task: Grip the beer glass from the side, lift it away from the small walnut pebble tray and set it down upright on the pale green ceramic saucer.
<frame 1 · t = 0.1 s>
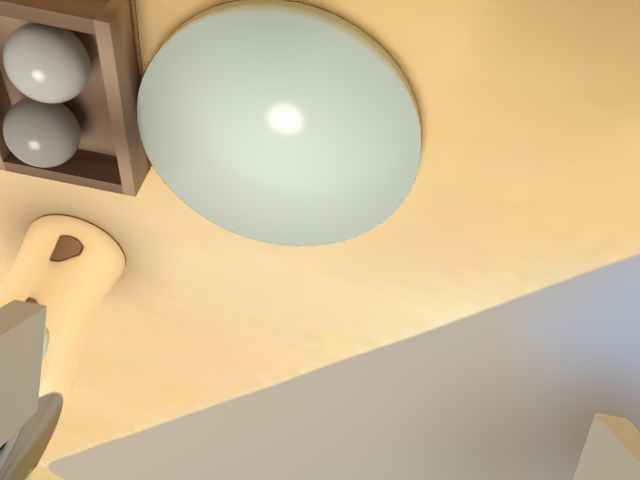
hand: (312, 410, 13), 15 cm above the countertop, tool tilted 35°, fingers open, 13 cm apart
pebble b: (42, 132, 25), point 2 cm above the countertop, touching parts tray
pebble a: (48, 62, 23), point 2 cm above the countertop, touching parts tray
saucer: (281, 135, 26), on the countertop
parts tray: (69, 74, 26), on the countertop
beer glass: (79, 245, 35), on the countertop
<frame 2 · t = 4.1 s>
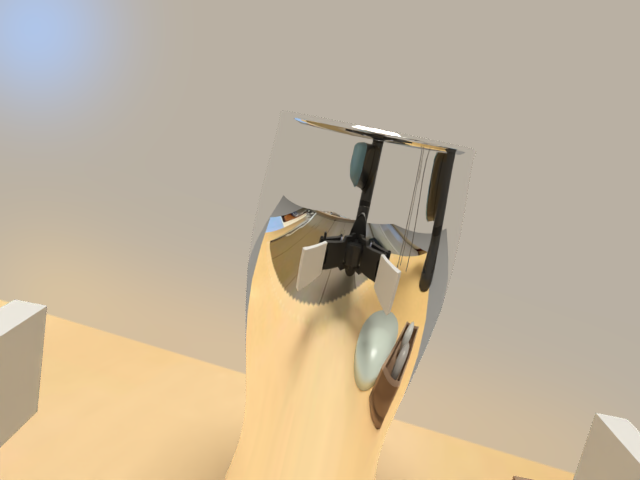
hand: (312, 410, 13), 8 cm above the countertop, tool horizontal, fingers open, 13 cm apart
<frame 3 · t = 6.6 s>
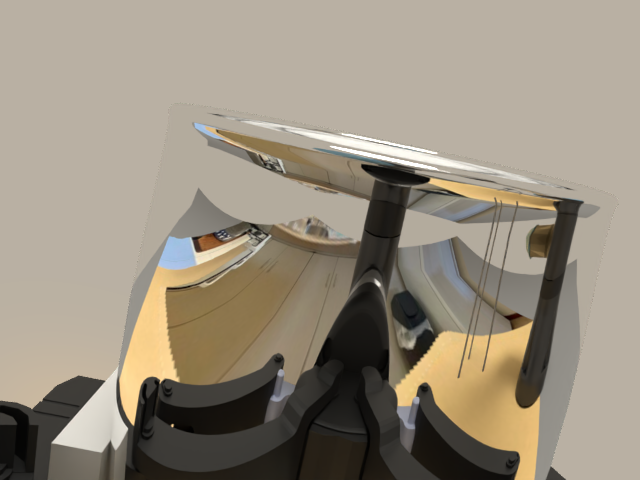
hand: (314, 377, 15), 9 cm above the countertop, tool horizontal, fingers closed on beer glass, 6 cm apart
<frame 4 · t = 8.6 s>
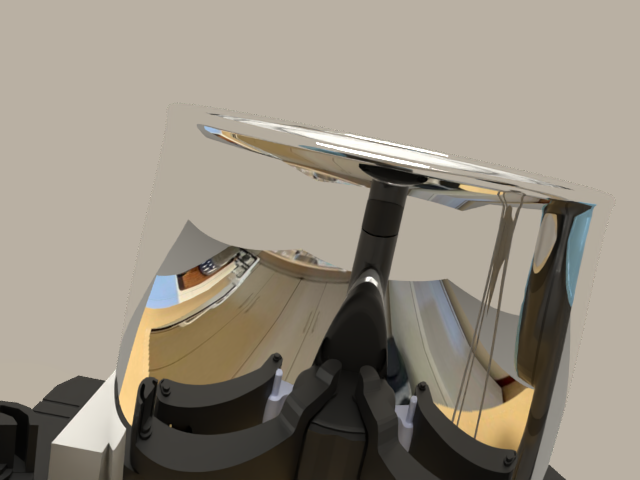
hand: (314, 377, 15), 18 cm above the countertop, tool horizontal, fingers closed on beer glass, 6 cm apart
when the fingers open (11 cm above the countertop, at t = 10.6 s): beer glass drops 1 cm, resting on saucer.
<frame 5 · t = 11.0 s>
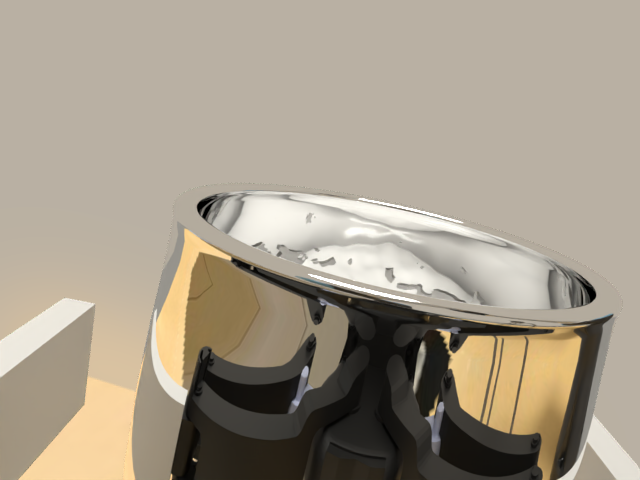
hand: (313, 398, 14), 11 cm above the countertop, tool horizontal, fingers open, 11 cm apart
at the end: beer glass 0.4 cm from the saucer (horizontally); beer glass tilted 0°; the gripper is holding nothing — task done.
